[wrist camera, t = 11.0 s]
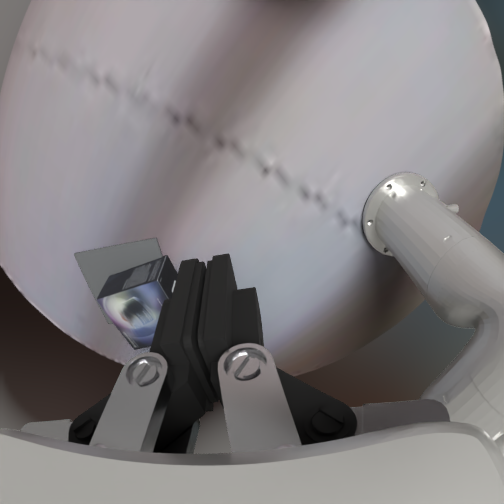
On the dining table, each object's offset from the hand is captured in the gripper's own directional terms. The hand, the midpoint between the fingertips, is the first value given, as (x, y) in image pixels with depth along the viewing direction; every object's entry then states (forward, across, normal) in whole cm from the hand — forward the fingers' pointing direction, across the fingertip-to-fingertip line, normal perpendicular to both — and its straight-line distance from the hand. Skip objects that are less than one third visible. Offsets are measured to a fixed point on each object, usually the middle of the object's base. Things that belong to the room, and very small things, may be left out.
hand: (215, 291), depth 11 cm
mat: (+27, +19, +17) cm, 37 cm away
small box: (+24, +10, +18) cm, 31 cm away
